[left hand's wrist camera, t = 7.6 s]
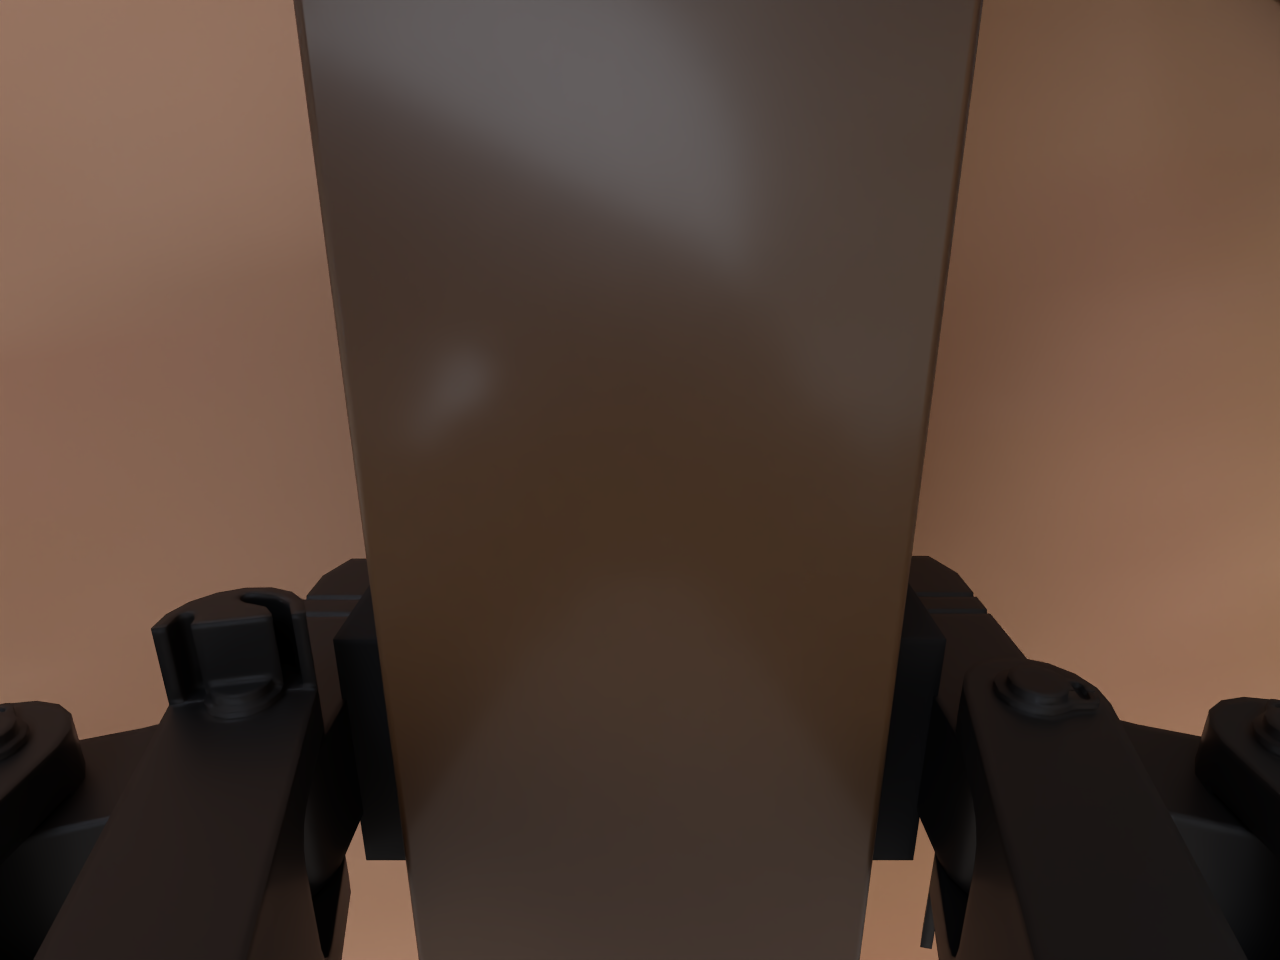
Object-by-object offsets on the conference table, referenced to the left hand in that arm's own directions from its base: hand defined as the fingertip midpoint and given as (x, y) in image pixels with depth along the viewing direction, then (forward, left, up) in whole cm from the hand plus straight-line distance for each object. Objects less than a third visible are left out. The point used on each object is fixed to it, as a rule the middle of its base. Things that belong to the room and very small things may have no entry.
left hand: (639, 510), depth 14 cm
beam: (-20, +4, -1) cm, 20 cm away
